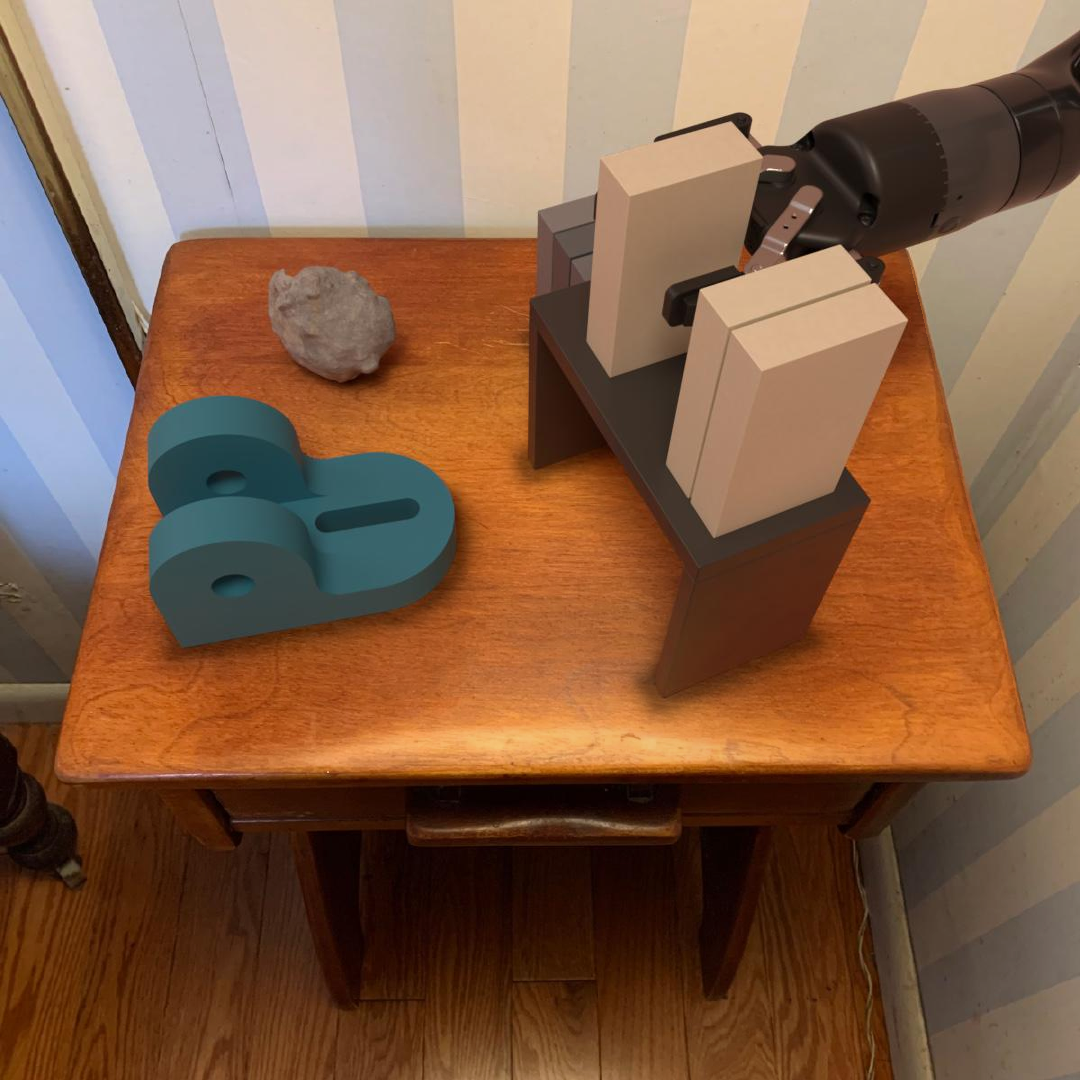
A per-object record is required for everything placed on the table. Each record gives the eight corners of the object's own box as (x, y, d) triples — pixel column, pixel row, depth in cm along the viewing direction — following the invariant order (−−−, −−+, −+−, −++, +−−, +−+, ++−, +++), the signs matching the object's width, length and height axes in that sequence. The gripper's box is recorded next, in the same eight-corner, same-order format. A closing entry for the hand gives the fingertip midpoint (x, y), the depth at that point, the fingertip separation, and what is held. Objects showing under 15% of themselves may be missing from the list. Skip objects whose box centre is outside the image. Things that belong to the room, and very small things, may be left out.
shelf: (803, 639, 64) (872, 500, 52) (662, 698, 62) (698, 568, 49) (653, 413, 74) (681, 251, 62) (527, 458, 72) (529, 298, 59)
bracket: (182, 648, 63) (127, 557, 54) (177, 510, 69) (127, 408, 60) (470, 596, 66) (462, 501, 57) (443, 467, 71) (432, 363, 62)
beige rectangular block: (721, 341, 58) (764, 157, 48) (609, 378, 56) (629, 196, 46) (695, 306, 59) (731, 120, 49) (585, 341, 57) (599, 156, 47)
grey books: (663, 380, 76) (685, 253, 66) (578, 409, 74) (587, 284, 64) (617, 312, 80) (631, 183, 70) (535, 339, 78) (537, 210, 68)
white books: (833, 492, 52) (909, 319, 42) (713, 538, 50) (761, 371, 40) (781, 422, 54) (840, 243, 44) (665, 464, 53) (699, 288, 43)
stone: (403, 332, 78) (389, 227, 70) (402, 400, 74) (387, 298, 66) (280, 336, 78) (251, 231, 69) (273, 405, 74) (241, 302, 66)
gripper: (847, 37, 55) (571, 110, 52) (1018, 196, 48) (713, 295, 44) (814, 156, 62) (566, 229, 58) (961, 313, 55) (689, 408, 51)
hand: (631, 257), depth 51 cm, fingers open, 7 cm apart
